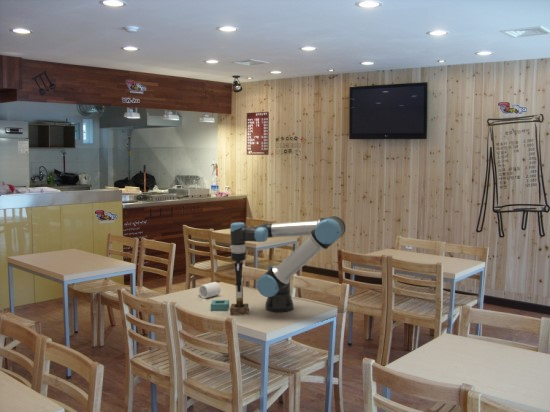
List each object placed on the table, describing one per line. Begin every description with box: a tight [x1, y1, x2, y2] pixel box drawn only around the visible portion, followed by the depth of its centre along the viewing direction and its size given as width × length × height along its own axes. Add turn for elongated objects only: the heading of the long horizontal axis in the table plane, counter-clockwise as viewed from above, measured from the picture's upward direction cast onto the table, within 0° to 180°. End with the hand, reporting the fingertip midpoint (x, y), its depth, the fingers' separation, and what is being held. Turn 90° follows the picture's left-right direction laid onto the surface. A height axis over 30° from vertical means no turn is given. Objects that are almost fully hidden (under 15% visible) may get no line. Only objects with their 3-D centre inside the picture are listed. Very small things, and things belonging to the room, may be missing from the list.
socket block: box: [210, 299, 230, 312], centre depth 310 cm, size 9×9×4 cm
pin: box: [235, 278, 244, 307], centre depth 301 cm, size 4×4×14 cm
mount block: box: [229, 302, 249, 316], centre depth 302 cm, size 9×9×4 cm
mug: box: [198, 281, 222, 299], centre depth 337 cm, size 12×10×8 cm
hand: (239, 296), depth 301 cm, fingers closed on pin, 3 cm apart
